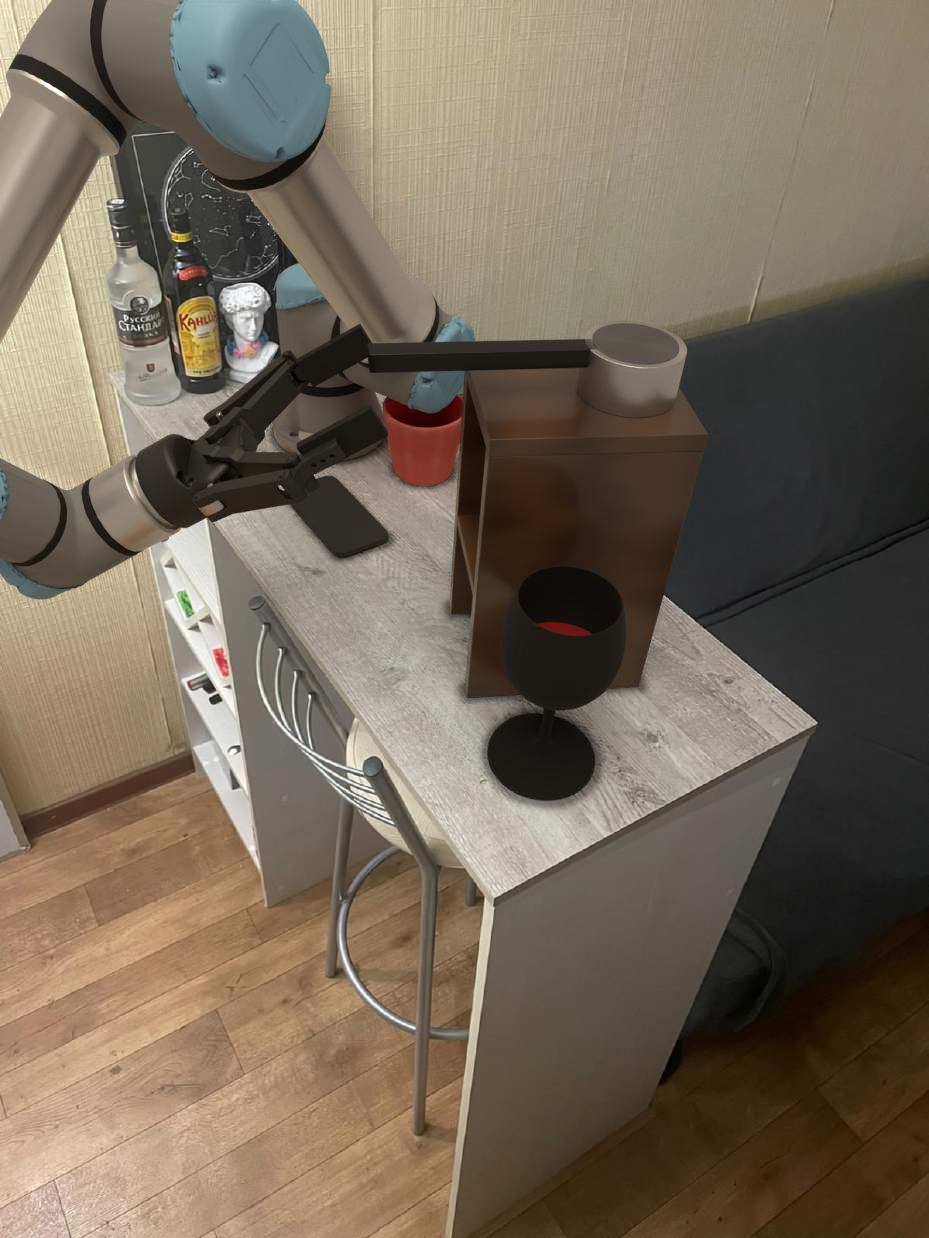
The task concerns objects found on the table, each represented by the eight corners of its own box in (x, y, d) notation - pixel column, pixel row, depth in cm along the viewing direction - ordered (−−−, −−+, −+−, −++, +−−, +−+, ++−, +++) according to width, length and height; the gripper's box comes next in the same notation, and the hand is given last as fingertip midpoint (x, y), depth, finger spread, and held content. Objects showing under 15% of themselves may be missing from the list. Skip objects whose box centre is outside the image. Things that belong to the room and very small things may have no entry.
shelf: (466, 698, 92) (490, 439, 71) (449, 605, 102) (465, 356, 81) (638, 687, 94) (708, 434, 74) (604, 597, 104) (658, 354, 84)
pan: (373, 427, 72) (373, 374, 69) (365, 375, 78) (364, 324, 75) (689, 416, 76) (702, 365, 73) (657, 367, 82) (668, 319, 79)
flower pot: (479, 478, 121) (485, 413, 114) (410, 502, 116) (411, 436, 109) (435, 440, 127) (438, 377, 120) (367, 462, 122) (366, 397, 115)
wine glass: (589, 811, 82) (630, 655, 69) (477, 788, 83) (495, 630, 70) (600, 726, 90) (638, 570, 76) (497, 706, 91) (516, 549, 77)
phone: (337, 555, 106) (280, 489, 114) (337, 560, 106) (280, 494, 115) (392, 535, 109) (332, 473, 118) (392, 541, 109) (332, 478, 118)
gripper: (199, 445, 90) (385, 343, 85) (175, 616, 72) (410, 498, 67) (148, 386, 85) (342, 274, 80) (109, 553, 67) (357, 422, 62)
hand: (374, 376), depth 74 cm, fingers open, 13 cm apart
